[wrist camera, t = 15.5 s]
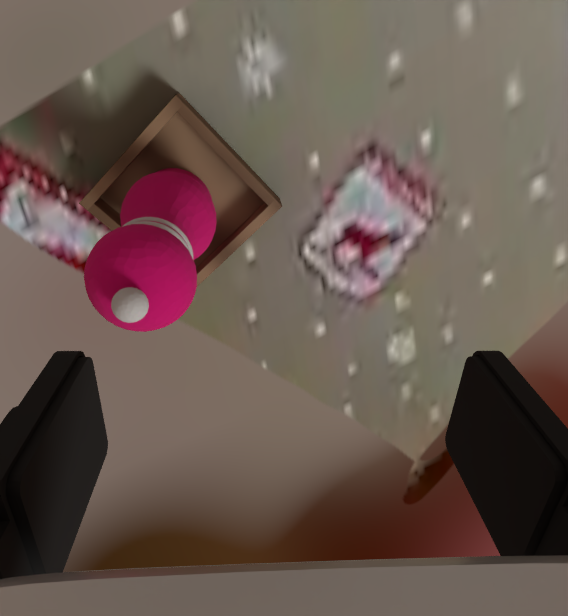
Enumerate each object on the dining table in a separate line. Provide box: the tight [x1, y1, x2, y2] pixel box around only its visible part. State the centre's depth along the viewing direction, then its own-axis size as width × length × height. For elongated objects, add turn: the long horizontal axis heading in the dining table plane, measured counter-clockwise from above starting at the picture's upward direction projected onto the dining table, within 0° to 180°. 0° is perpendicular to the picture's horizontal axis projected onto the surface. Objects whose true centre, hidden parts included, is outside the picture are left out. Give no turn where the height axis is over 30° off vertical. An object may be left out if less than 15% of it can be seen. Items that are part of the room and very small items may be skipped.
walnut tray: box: [79, 93, 282, 286], centre depth 39 cm, size 12×12×3 cm
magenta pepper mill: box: [84, 168, 217, 332], centre depth 31 cm, size 7×7×20 cm
